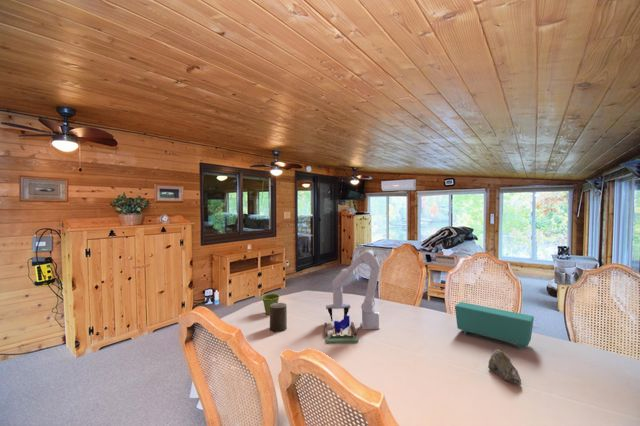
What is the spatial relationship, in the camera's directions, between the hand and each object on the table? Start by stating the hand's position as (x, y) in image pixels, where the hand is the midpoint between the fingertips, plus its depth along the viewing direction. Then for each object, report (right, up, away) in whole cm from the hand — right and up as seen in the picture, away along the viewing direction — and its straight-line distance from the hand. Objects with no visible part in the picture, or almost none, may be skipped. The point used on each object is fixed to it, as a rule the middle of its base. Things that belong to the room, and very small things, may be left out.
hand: (338, 320), depth 176 cm
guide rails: (0, -2, -12) cm, 12 cm away
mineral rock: (+63, -2, -58) cm, 86 cm away
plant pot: (-43, -2, +18) cm, 47 cm away
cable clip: (+1, -2, -8) cm, 8 cm away
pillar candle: (-35, -2, -7) cm, 36 cm away
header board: (0, -2, -24) cm, 24 cm away
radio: (+78, -1, -24) cm, 82 cm away
